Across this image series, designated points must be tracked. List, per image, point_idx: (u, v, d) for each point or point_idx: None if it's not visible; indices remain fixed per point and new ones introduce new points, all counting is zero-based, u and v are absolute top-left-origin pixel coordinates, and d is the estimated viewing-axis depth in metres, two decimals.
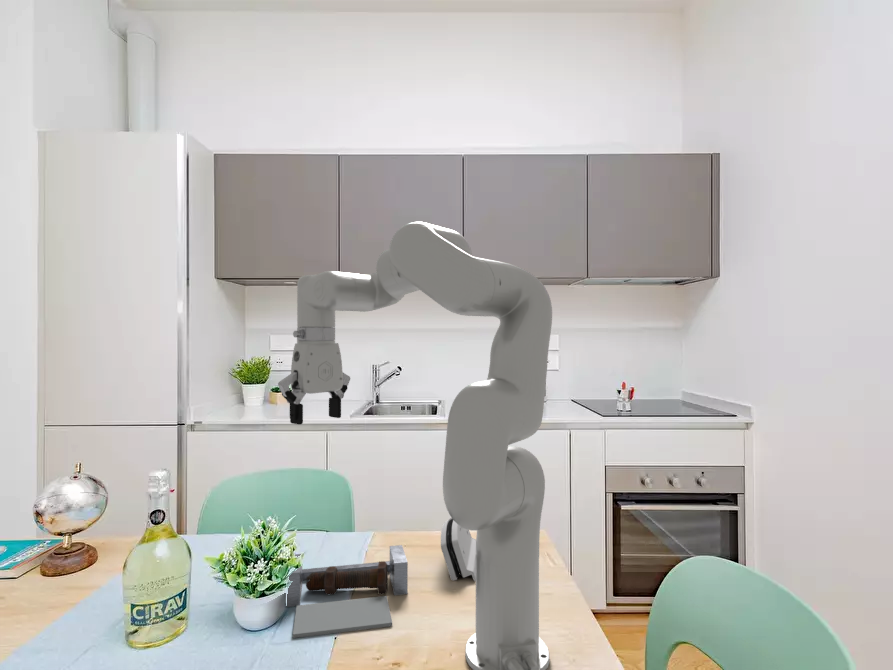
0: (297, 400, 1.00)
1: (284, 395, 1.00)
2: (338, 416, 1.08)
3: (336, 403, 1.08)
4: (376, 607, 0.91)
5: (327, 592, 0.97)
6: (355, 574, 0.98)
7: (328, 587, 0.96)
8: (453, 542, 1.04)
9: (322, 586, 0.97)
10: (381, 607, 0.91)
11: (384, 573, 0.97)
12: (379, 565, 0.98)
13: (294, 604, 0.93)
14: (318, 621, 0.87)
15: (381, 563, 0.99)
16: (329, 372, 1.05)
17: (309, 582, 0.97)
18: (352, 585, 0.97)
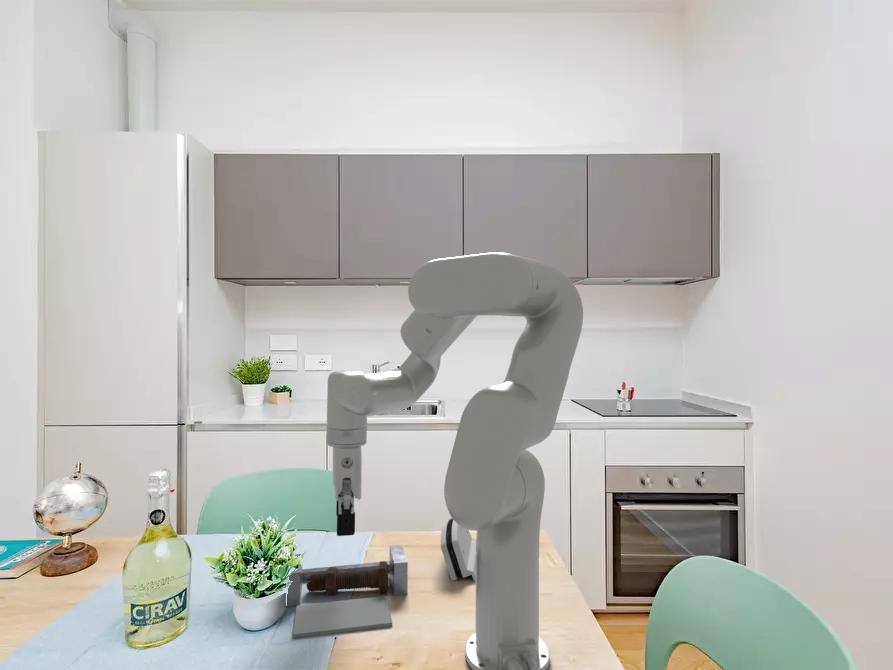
0: None
1: (345, 508, 0.92)
2: None
3: (349, 500, 1.04)
4: (376, 607, 0.91)
5: (328, 593, 0.96)
6: (356, 574, 0.98)
7: (329, 588, 0.96)
8: (453, 542, 1.04)
9: (323, 587, 0.96)
10: (381, 607, 0.91)
11: (385, 573, 0.97)
12: (380, 565, 0.98)
13: (294, 604, 0.93)
14: (318, 621, 0.87)
15: (382, 563, 0.99)
16: None
17: (310, 583, 0.96)
18: (353, 585, 0.97)
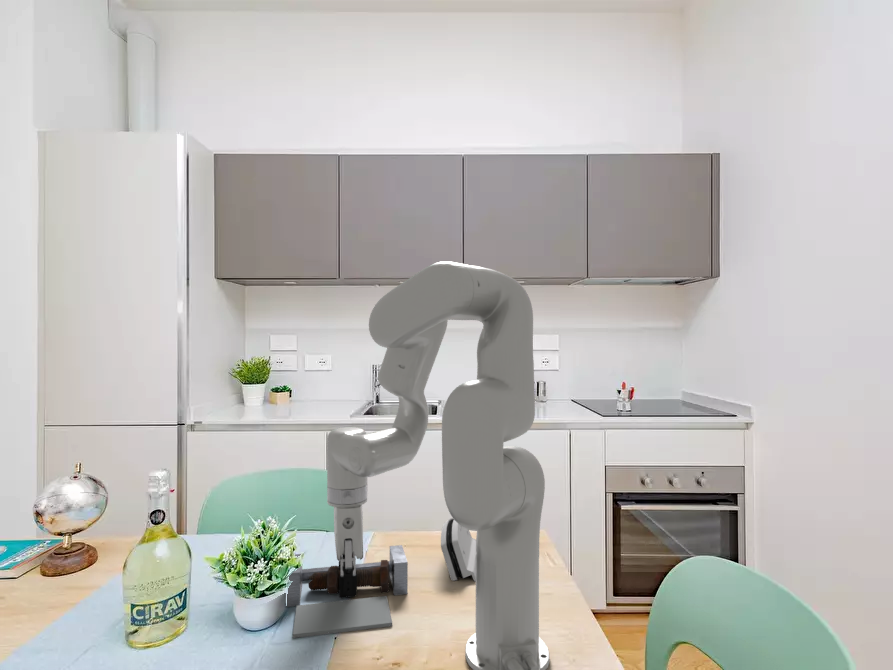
0: None
1: (347, 571, 0.93)
2: None
3: None
4: (376, 607, 0.91)
5: (330, 591, 0.97)
6: (358, 573, 0.98)
7: (331, 586, 0.96)
8: (453, 542, 1.04)
9: (325, 586, 0.97)
10: (381, 607, 0.91)
11: (387, 571, 0.97)
12: (381, 563, 0.99)
13: (294, 604, 0.93)
14: (318, 621, 0.87)
15: (383, 561, 1.00)
16: None
17: (312, 582, 0.97)
18: None
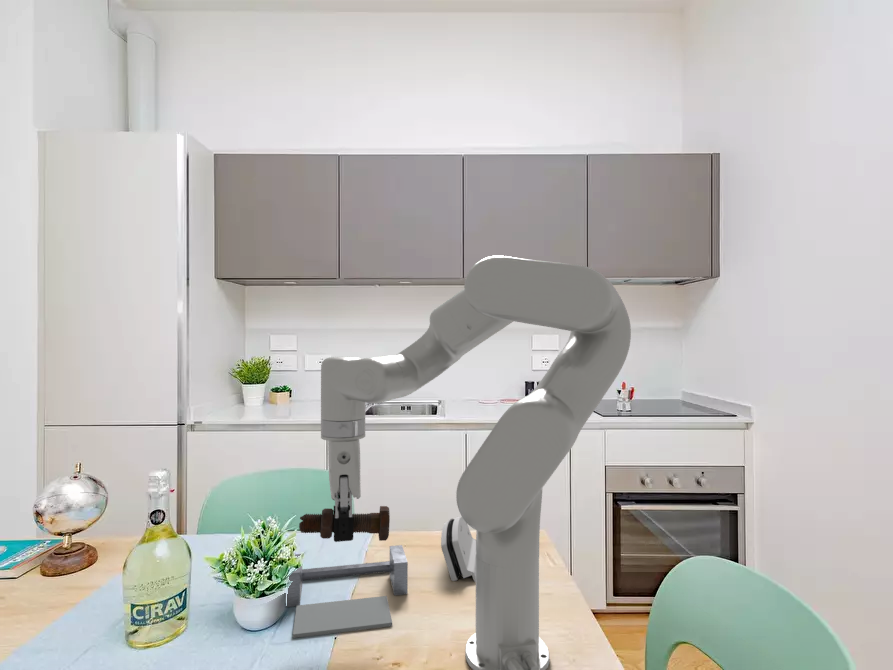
0: None
1: (343, 511, 0.84)
2: None
3: None
4: (376, 607, 0.91)
5: (323, 534, 0.87)
6: (355, 516, 0.89)
7: (325, 528, 0.86)
8: (453, 542, 1.03)
9: (317, 527, 0.87)
10: (381, 607, 0.91)
11: (388, 516, 0.89)
12: (381, 508, 0.90)
13: (294, 604, 0.93)
14: (318, 621, 0.87)
15: (383, 507, 0.91)
16: None
17: (303, 522, 0.87)
18: None
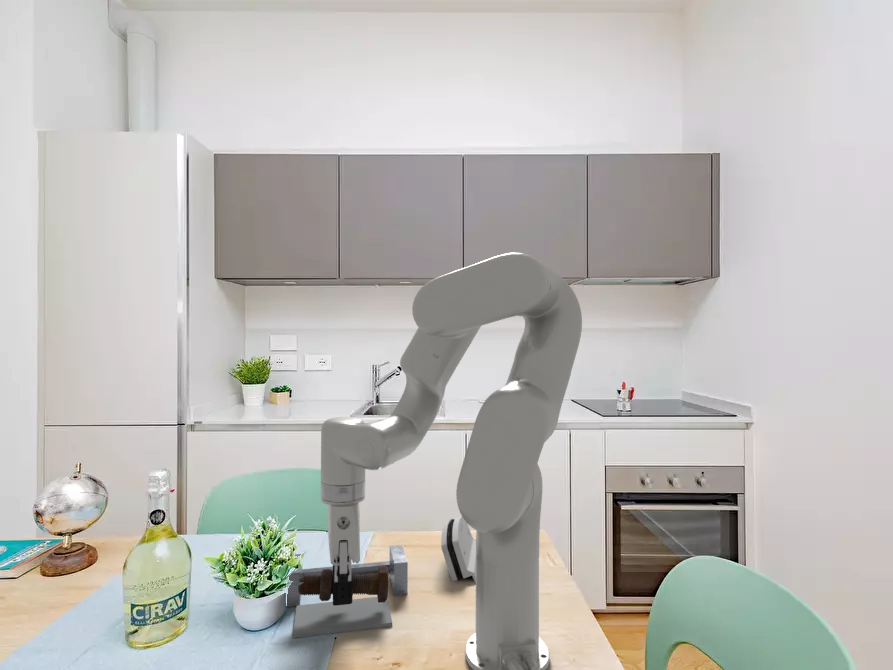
0: None
1: (342, 576, 0.84)
2: None
3: None
4: (376, 607, 0.91)
5: (322, 597, 0.87)
6: (354, 578, 0.89)
7: (324, 591, 0.86)
8: (454, 543, 1.03)
9: (316, 590, 0.87)
10: (381, 607, 0.91)
11: (387, 578, 0.89)
12: (381, 569, 0.90)
13: (294, 604, 0.93)
14: (318, 621, 0.87)
15: (382, 567, 0.91)
16: None
17: (302, 585, 0.87)
18: None
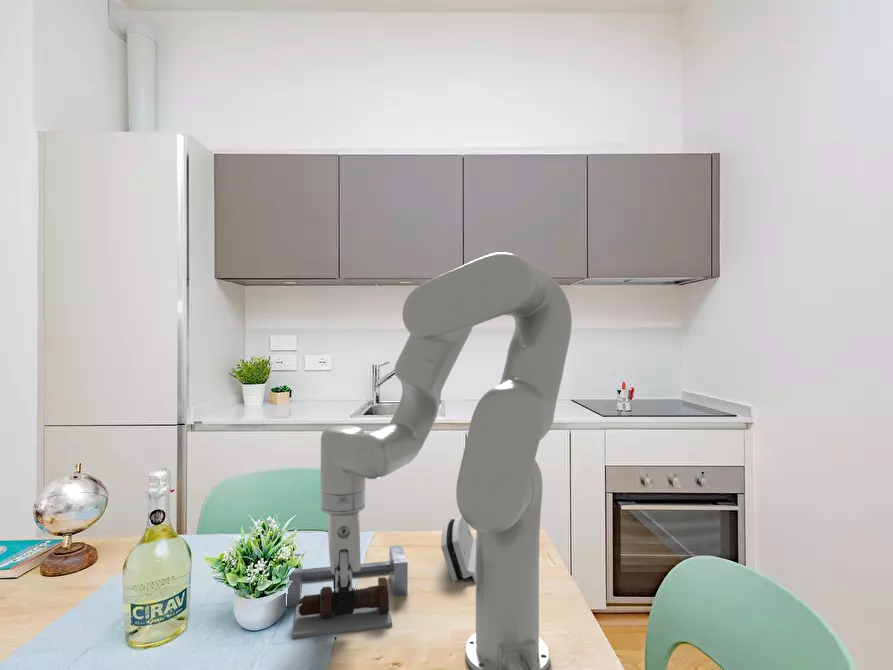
0: None
1: (343, 586, 0.82)
2: None
3: None
4: None
5: (323, 616, 0.87)
6: (354, 594, 0.89)
7: (325, 611, 0.86)
8: (454, 543, 1.03)
9: (317, 610, 0.87)
10: None
11: (387, 590, 0.89)
12: (380, 582, 0.90)
13: (294, 604, 0.93)
14: (318, 621, 0.87)
15: (381, 579, 0.91)
16: None
17: (302, 607, 0.87)
18: None
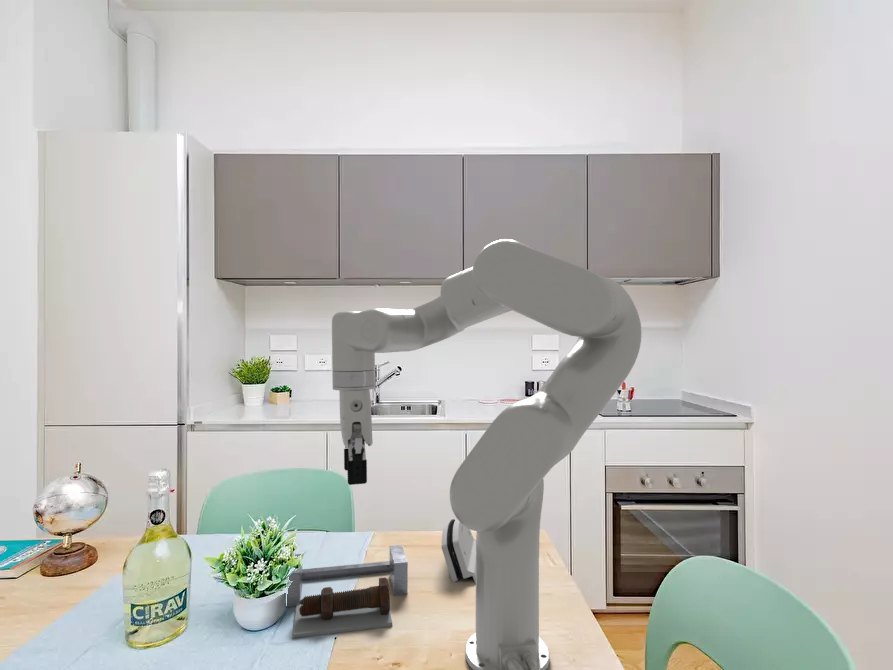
0: None
1: (357, 453, 0.85)
2: None
3: None
4: None
5: (324, 617, 0.87)
6: (355, 594, 0.89)
7: (326, 611, 0.86)
8: (454, 543, 1.03)
9: (318, 610, 0.87)
10: None
11: (388, 590, 0.89)
12: (381, 582, 0.90)
13: (294, 604, 0.93)
14: (318, 621, 0.87)
15: (382, 580, 0.91)
16: None
17: (303, 607, 0.86)
18: (352, 607, 0.88)
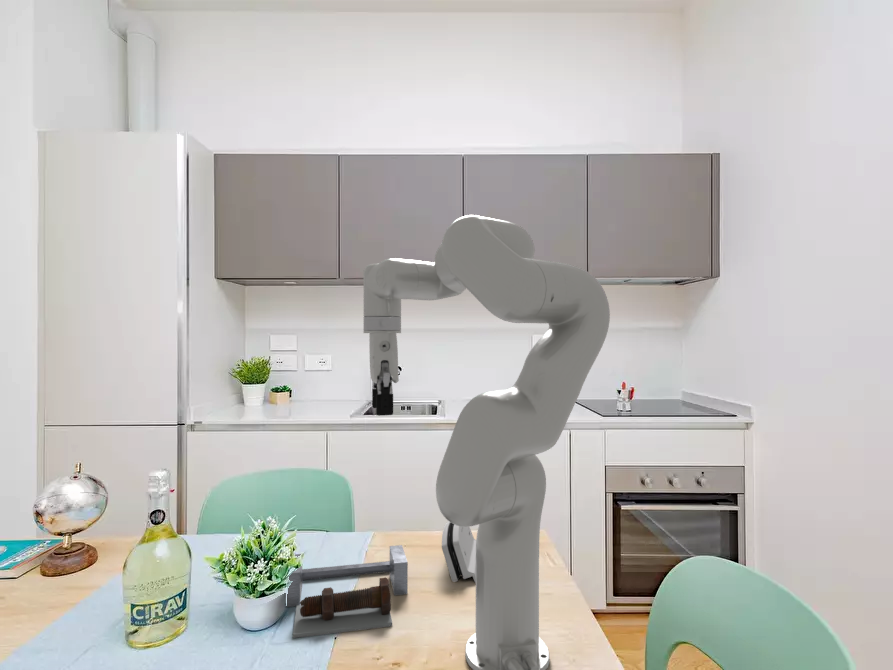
0: None
1: (385, 386, 0.97)
2: None
3: None
4: None
5: (325, 617, 0.87)
6: (355, 594, 0.88)
7: (327, 612, 0.86)
8: (454, 543, 1.03)
9: (319, 611, 0.87)
10: None
11: (389, 590, 0.89)
12: (381, 582, 0.90)
13: (294, 604, 0.93)
14: (318, 621, 0.87)
15: (383, 580, 0.91)
16: None
17: (304, 608, 0.86)
18: (353, 607, 0.88)
